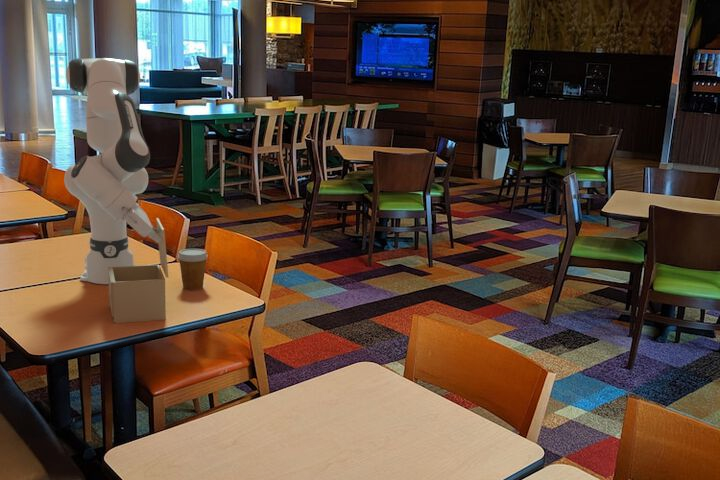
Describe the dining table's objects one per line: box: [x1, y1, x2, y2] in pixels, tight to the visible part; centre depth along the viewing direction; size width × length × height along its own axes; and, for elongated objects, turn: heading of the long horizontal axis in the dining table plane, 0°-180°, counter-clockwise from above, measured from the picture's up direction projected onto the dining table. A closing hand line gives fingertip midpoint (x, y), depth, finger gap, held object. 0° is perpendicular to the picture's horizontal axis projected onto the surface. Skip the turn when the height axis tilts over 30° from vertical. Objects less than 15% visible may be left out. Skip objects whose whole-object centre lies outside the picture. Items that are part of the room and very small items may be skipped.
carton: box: [108, 264, 167, 324], centre depth 219 cm, size 16×15×12 cm
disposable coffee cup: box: [177, 248, 209, 291], centre depth 244 cm, size 10×10×12 cm
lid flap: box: [155, 217, 169, 279], centre depth 218 cm, size 16×14×1 cm
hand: (158, 237), depth 217 cm, fingers open, 8 cm apart
